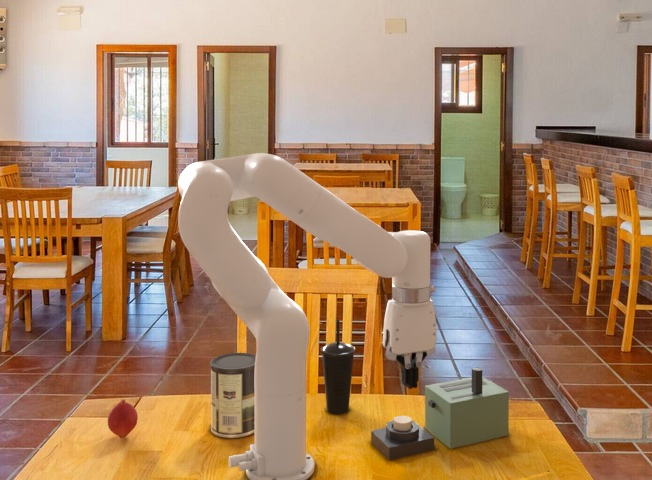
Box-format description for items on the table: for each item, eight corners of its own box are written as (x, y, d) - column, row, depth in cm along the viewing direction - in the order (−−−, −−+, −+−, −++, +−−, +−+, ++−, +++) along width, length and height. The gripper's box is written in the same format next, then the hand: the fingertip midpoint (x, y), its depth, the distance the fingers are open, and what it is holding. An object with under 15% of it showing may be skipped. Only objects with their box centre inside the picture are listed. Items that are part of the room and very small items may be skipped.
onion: (101, 440, 142) (101, 400, 142) (123, 428, 148) (122, 390, 147) (122, 446, 140) (122, 406, 140) (143, 434, 145) (143, 396, 145)
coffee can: (253, 413, 155) (253, 349, 155) (265, 433, 145) (265, 365, 145) (206, 421, 151) (206, 355, 151) (214, 442, 142) (214, 372, 141)
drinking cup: (351, 418, 152) (351, 326, 152) (316, 415, 154) (316, 324, 154) (358, 404, 160) (358, 316, 160) (325, 401, 161) (325, 314, 161)
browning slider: (475, 394, 143) (475, 371, 143) (471, 391, 144) (471, 368, 144) (482, 393, 143) (482, 369, 143) (478, 390, 145) (478, 367, 145)
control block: (389, 460, 134) (389, 439, 134) (371, 442, 142) (371, 422, 142) (434, 449, 138) (434, 429, 138) (414, 433, 146) (414, 413, 146)
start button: (398, 433, 138) (398, 424, 138) (390, 426, 141) (390, 417, 141) (414, 430, 139) (414, 421, 139) (406, 422, 142) (406, 414, 142)
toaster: (446, 449, 138) (446, 403, 138) (421, 429, 148) (421, 385, 147) (508, 435, 145) (508, 391, 145) (480, 416, 154) (480, 374, 154)
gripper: (433, 286, 147) (432, 374, 147) (368, 293, 140) (367, 385, 141) (453, 294, 140) (452, 387, 140) (385, 302, 134) (384, 399, 134)
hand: (409, 385), depth 140 cm, fingers closed
